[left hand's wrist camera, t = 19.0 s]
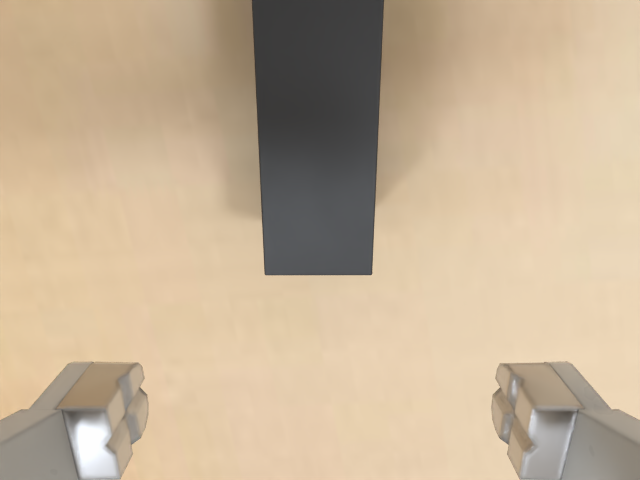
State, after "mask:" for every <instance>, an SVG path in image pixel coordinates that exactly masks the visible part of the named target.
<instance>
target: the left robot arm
mask: <svg viewBox="0 0 640 480" xmlns="http://www.w3.org/2000/svg"><path fill="white" fill-rule="evenodd" d="M144 379H145V378H144V373H143V368H142V366H141V365H140V364H139V363H128V362H72V363H69V364H67V366H66V367H65V368H64V369H63V370H62V371H61V372H60V374H59V375H58V376H57V377H56V378H55V379H54V380H53V382H52V383H51V384H50V385H49V386H48V387H47V389H46V390H45V391H44V392H43V393H42V394H41V395H40V397H39V398H38V399H37V400H36V401H35V402H34V404H33V405H32V406H31V407H30V408H29V409H23V410H19V411H17V412H15V413H13V414H11V415H10V416H8V417H6V418H4V419H2V420H0V480H119V479H121V477H122V475H123V473H124V471H125V469H126V467H127V465H128V463H129V461H130V459H131V457H132V455H133V452H132V446H131V445H132V444H133V443H134V442H136V441H137V440H139V439H140V438H141V436H142V434H143V432H144V430H145V427H146V423H147V418H148V397H147V394H146V393H145V392H144V391H143V390H142V389H141V388H140V386H141V384H142V382H143V380H144ZM495 379H496V380H497V382H498V384H499V386H500V388H499V389H498V390H497V391H496V392H495V393H494V394H493V398H492V406H491V409H492V420H493V423H494V427H495V430H496V432H497V434H498V436H499V438H500V439H501V440H503V441H504V442H506V443H507V444H508V445H509V446H508V452H507V455H508V457H509V459H510V461H511V463H512V465H513V467H514V469H515V471H516V473H517V475H518V477H519V479H520V480H640V420H638V419H636V418H634V417H632V416H630V415H629V414H627V413H625V412H623V411H621V410H617V409H611V408H610V407H609V406H608V405H607V404H606V402H605V401H604V400H603V399H602V398H601V397H600V396H599V394H598V393H597V392H596V391H595V390H594V389H593V387H592V386H591V385H590V384H589V383H588V382H587V381H586V379H585V378H584V377H583V376H582V375H581V374H580V372H579V371H578V370H577V369H576V368H575V367H574V366H573V364H571V363H569V362H567V361H565V362H544V363H500V364H499V366H498V368H497V373H496V378H495Z"/></svg>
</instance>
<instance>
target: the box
mask: <svg viewBox="0 0 640 480" xmlns="http://www.w3.org/2000/svg"><path fill="white" fill-rule="evenodd" d="M383 9H384V0H252V13H253V34H254V56H255V77H256V99H257V120H258V141H259V163H260V184H261V205H262V227H263V248H264V270H265V275H372V263H373V240H374V217H375V194H376V171H377V148H378V124H379V101H380V78H381V55H382V32H383Z"/></svg>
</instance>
